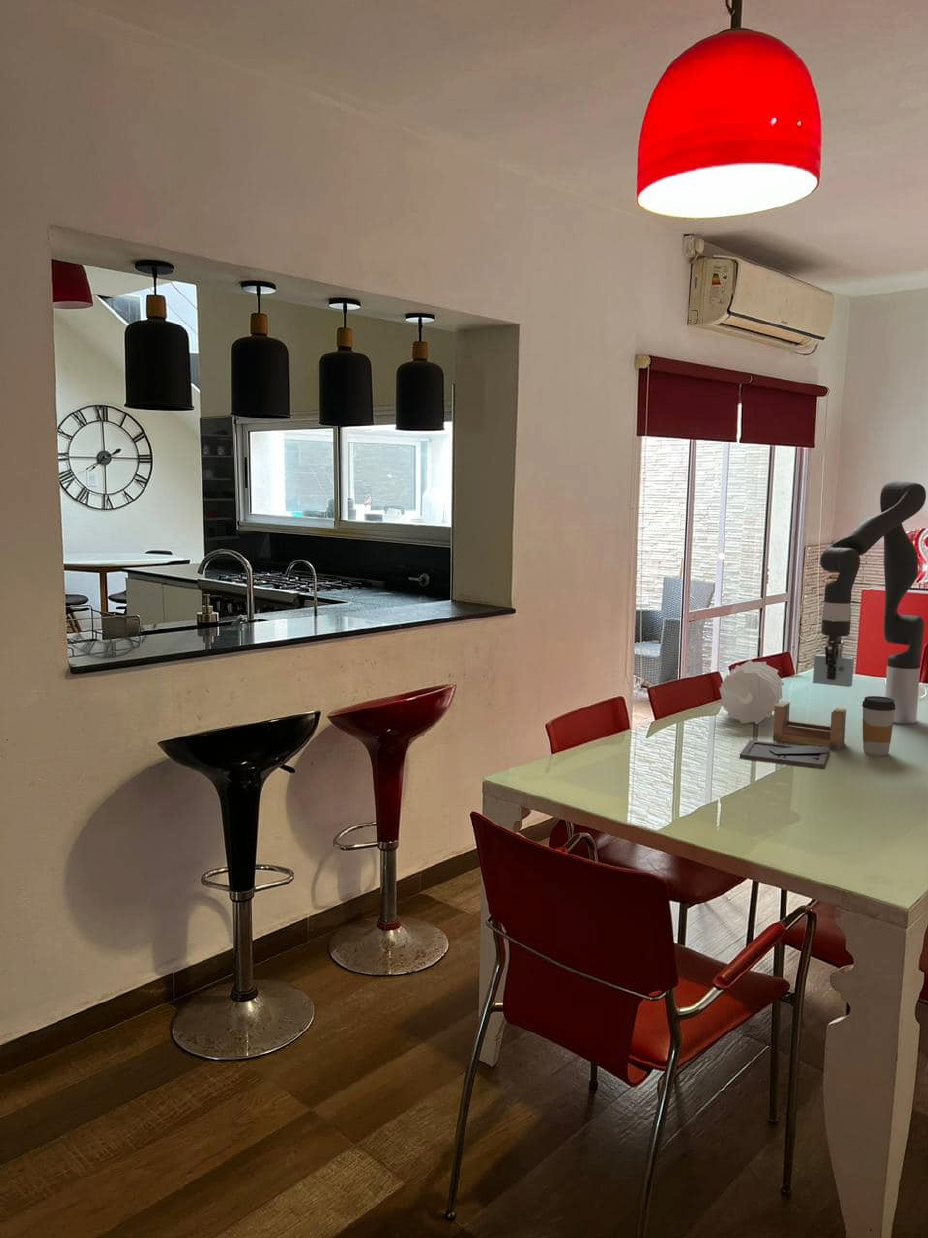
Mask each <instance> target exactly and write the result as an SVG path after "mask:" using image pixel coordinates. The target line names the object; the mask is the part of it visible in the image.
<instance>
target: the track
mask: <svg viewBox="0 0 928 1238" xmlns="http://www.w3.org/2000/svg"><path fill="white" fill-rule="evenodd" d="M790 703H791V702H790V701H782V700H781V701H779V703H778V704H776V705H775V706H774V711H773V731H772V740H773V739H774V740H773V741H779V740H781V742H786V741H789V742H788V743H793V742H795V743H794V744H800V743H801V744H800V745H807V744H808V745H807V746H809V745H811V746H814V745H815V746H819V747H820V746H821V747H828V748H829V749H834V748H835V750H840V749H841V748H842V746H843V745H844V744H845V739H846V737H845V736H846V735H845V734H846V719H847V718H846V717H847V708H840V707H836V708H835V709H834V710H833V711H831V716H830V717H831V718H830V725H825V724H824V725H822V724H816V723H808V722H807V723H806V722H799V721H792V720H790V705H791V704H790Z"/></svg>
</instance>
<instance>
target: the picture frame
mask: <svg viewBox="0 0 928 1238" xmlns="http://www.w3.org/2000/svg"><path fill="white" fill-rule="evenodd" d="M829 753H830V748H828V747H820V746H814V745H795V744H786V743H780V742H779V743H778V742H769V741H761V740H753V739H749V741H748V742H747V744H746V745H745V746H744V748H742V751H741V752H740V753H739V759H745V760H751V761H752V760H753V761H762V762H769V763H776V764H777V763H778V764H784V765H793V766H800V767H801V766H802V767H808V768H816V767H821V768H820V769H824V768H825V765H826V763H827V761H828V760H827V759H828V757H829Z"/></svg>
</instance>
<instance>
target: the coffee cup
mask: <svg viewBox="0 0 928 1238" xmlns="http://www.w3.org/2000/svg"><path fill="white" fill-rule="evenodd" d="M861 706H862V744H863V745H862V746H863V747H862V749H863V751H864V753H865V754H868V755H871V756H877V757H879V756H883V757H884V756H887V755H888V754H889V752H890V747H891V741H892V735H893V727H894V722H893V719H894V711H895V709H896V708H895V703H894V700H893V699H891V698H887V697H885V696H878V695H876V696H875V695H871V696H870V695H869V696H865V697H864V699H863V700H862V704H861Z"/></svg>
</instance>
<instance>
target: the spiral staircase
mask: <svg viewBox="0 0 928 1238" xmlns="http://www.w3.org/2000/svg"><path fill="white" fill-rule="evenodd" d="M778 672H779V670H778V669H776V668H774V667H772V666H770V665H768V664H767V661H756V662H753V660H752V659H749V660H748V661H746V662H744V663H743V664H741V665H738V664H736V666H735V667H734V669H731V670H730V672H729V674H726V675H725V678H724V679H723V681H722V682H721V684H720V687H719V692H720V697H721V701H720V702H719V704H720V705H721V706H722V708H724V710H726V711H727V714H726V715H727V717H729V718H732V719H735V720H738V721H740V724H748V723H749V724H750V723H753V722H754V723H755V725H758V724H759V723H760V722H761V721H763V720H764V719H765V718H771V716H772V714H773V713H774V706H775V705H776V704H778V703H779V702H780V700H781V699H783V686H785V682H784V680H782V679H781V677H780V676H779V674H778ZM781 701H782V700H781Z"/></svg>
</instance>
